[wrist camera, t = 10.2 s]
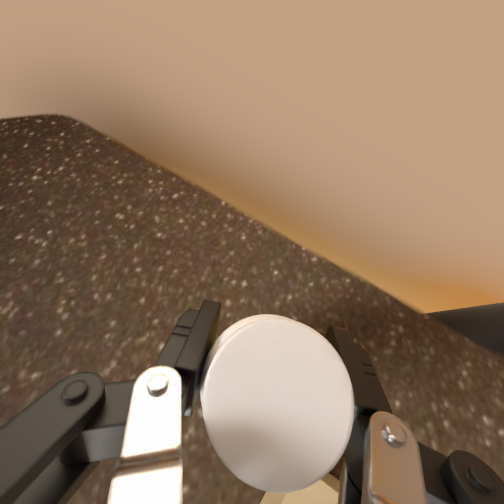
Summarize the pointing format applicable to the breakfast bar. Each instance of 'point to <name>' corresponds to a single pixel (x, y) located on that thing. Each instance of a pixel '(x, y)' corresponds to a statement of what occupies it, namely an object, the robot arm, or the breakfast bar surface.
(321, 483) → the knob base panel
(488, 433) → the breakfast bar surface
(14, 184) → the breakfast bar surface
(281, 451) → the supplement bottle
